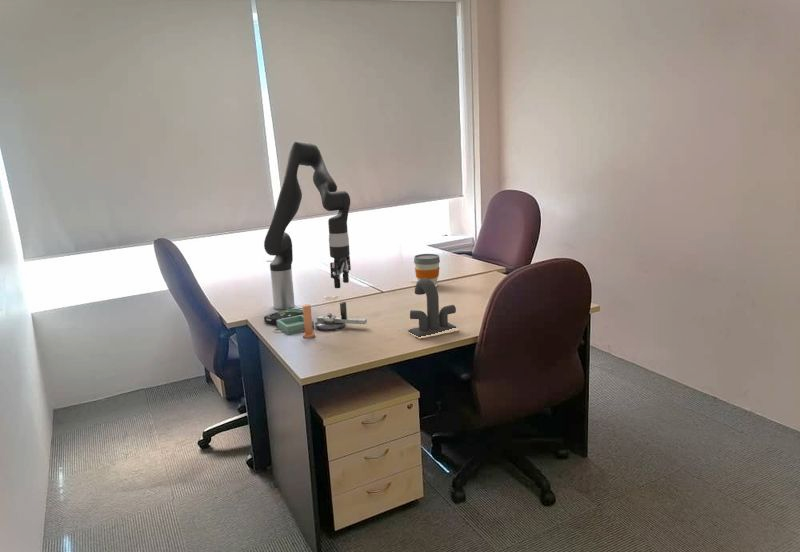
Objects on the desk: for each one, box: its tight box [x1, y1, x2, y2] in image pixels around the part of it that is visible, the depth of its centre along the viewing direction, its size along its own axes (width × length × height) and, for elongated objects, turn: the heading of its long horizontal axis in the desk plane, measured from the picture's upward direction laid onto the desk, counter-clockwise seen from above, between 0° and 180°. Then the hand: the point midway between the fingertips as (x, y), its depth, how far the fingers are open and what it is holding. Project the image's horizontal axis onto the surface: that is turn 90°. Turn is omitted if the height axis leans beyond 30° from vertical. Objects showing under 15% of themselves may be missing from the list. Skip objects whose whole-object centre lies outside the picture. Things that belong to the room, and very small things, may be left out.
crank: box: [316, 301, 367, 325], centre depth 228 cm, size 20×5×8 cm, turn 73°
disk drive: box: [263, 308, 303, 326], centre depth 240 cm, size 10×3×15 cm
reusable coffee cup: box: [413, 253, 441, 285], centre depth 283 cm, size 12×13×15 cm
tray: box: [276, 315, 315, 335], centre depth 230 cm, size 11×11×3 cm
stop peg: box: [302, 304, 316, 339], centre depth 219 cm, size 4×4×12 cm
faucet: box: [407, 278, 457, 337], centre depth 220 cm, size 18×16×20 cm
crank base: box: [314, 320, 347, 332], centre depth 231 cm, size 12×12×2 cm
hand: (341, 285), depth 225 cm, fingers open, 8 cm apart
